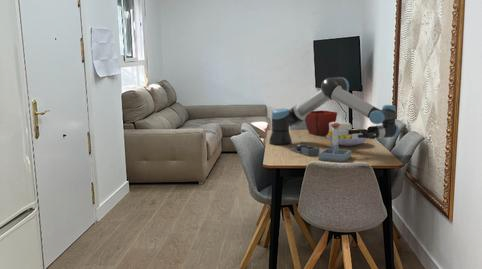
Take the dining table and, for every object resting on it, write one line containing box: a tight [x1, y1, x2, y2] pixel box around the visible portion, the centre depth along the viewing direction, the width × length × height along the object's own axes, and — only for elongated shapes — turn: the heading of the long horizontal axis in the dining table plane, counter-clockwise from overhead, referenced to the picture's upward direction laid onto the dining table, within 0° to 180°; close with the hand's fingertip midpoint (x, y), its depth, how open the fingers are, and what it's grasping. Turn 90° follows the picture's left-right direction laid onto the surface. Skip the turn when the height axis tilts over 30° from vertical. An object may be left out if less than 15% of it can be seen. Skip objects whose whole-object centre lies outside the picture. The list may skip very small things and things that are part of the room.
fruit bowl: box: [325, 128, 367, 147], centre depth 318 cm, size 28×27×11 cm
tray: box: [318, 148, 352, 163], centre depth 275 cm, size 15×15×4 cm
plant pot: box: [304, 110, 338, 136], centre depth 366 cm, size 19×19×17 cm
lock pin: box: [331, 123, 340, 154], centre depth 274 cm, size 5×5×19 cm
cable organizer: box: [329, 121, 353, 131], centre depth 343 cm, size 15×11×12 cm
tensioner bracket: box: [290, 143, 321, 157], centre depth 293 cm, size 20×9×4 cm, turn 23°
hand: (345, 134), depth 275 cm, fingers open, 13 cm apart
